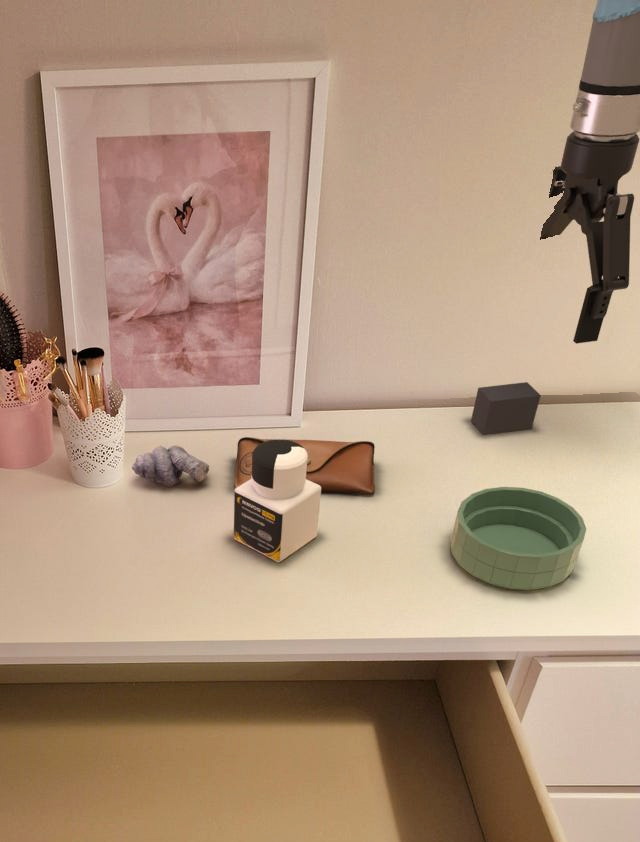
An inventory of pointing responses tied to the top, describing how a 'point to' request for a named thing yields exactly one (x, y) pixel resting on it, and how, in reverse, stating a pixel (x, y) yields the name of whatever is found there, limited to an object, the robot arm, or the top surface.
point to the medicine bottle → (277, 501)
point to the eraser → (505, 408)
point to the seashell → (169, 466)
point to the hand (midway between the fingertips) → (557, 319)
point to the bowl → (517, 537)
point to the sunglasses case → (322, 464)
